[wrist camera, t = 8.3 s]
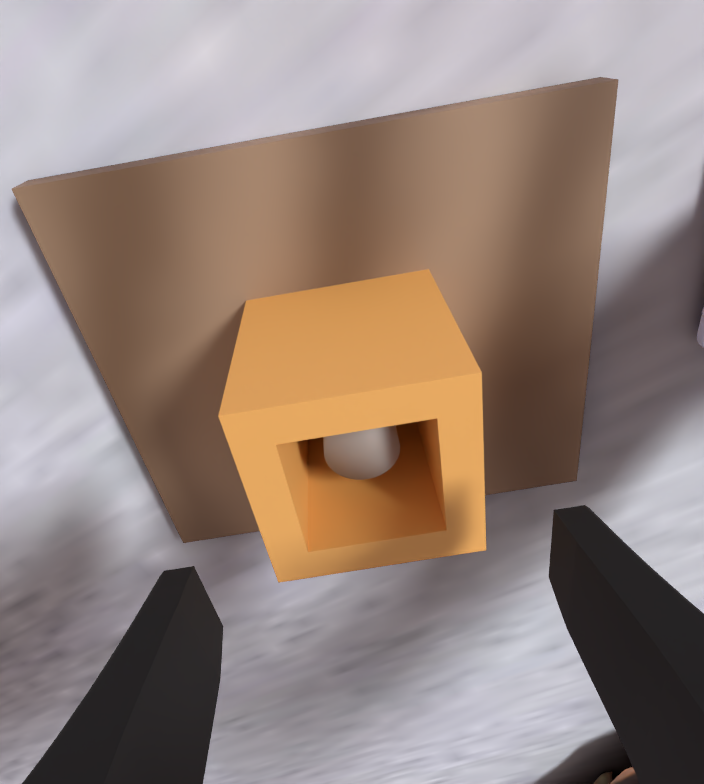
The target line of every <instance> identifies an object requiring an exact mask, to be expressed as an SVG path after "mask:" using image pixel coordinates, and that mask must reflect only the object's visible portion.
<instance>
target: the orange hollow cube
mask: <svg viewBox="0 0 704 784" xmlns="http://www.w3.org/2000/svg"><path fill="white" fill-rule="evenodd" d="M218 417H219V420H220V422H221V425H222V428H223V431H224V433H225V436H226V439H227V442H228V444H229V447H230V450H231V453H232V455H233V458H234V461H235V464H236V466H237V469H238V472H239V475H240V477H241V480H242V483H243V486H244V488H245V491H246V494H247V497H248V500H249V502H250V505H251V508H252V511H253V513H254V516H255V519H256V522H257V524H258V527H259V530H260V533H261V535H262V538H263V541H264V544H265V546H266V549H267V552H268V555H269V557H270V560H271V563H272V566H273V568H274V571H275V574H276V577H277V579H278V582H285V581H292V580H298V579H304V578H311V577H317V576H324V575H330V574H336V573H343V572H349V571H356V570H362V569H369V568H375V567H381V566H388V565H394V564H401V563H407V562H413V561H420V560H426V559H433V558H439V557H445V556H452V555H458V554H465V553H471V552H478V551H484V550H486V521H485V481H484V441H483V401H482V372H481V370H480V368H479V366H478V364H477V362H476V360H475V358H474V356H473V354H472V352H471V350H470V348H469V346H468V345H467V343H466V341H465V339H464V337H463V335H462V333H461V331H460V329H459V327H458V325H457V323H456V321H455V319H454V317H453V315H452V313H451V311H450V310H449V308H448V306H447V304H446V302H445V300H444V298H443V296H442V294H441V292H440V290H439V288H438V286H437V284H436V282H435V280H434V278H433V276H432V274H431V273H430V271H429V269H427V270H421V271H415V272H409V273H403V274H398V275H392V276H386V277H380V278H374V279H369V280H363V281H357V282H351V283H345V284H340V285H334V286H328V287H322V288H316V289H310V290H305V291H299V292H293V293H287V294H281V295H276V296H270V297H264V298H258V299H252V300H247V301H246V303H245V307H244V311H243V315H242V319H241V324H240V328H239V332H238V336H237V340H236V344H235V349H234V353H233V357H232V361H231V365H230V369H229V373H228V378H227V382H226V386H225V390H224V394H223V398H222V403H221V407H220V411H219V415H218ZM394 425H396V429H397V434H398V438H399V443H400V454H399V457H398V459H397V461H396V462H395V464H394V465H393V466H392V467H391V468H390V469H389V470H388V471H386V472H385V473H383V474H382V475H379V476H377V477H374V478H370V479H364V480H355V479H349V478H345V477H343V476H340V475H339V474H337V473H335V472H334V471H333V470H332V469H331V468H330V467H329V466H328V464H327V462H326V460H325V457H324V442H323V437H326V436H333V435H339V434H345V433H351V432H357V431H363V430H369V429H375V428H381V427H388V426H394Z"/></svg>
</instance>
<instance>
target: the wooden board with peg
mask: <svg viewBox="0 0 704 784" xmlns="http://www.w3.org/2000/svg"><path fill="white" fill-rule="evenodd" d="M617 87H618V79H610V78H603V77H599V78H593V79H588V80H582V81H577V82H571V83H566V84H560V85H555V86H549V87H543V88H538V89H532V90H527V91H521V92H516V93H510V94H505V95H499V96H494V97H488V98H482V99H477V100H471V101H466V102H460V103H455V104H449V105H444V106H438V107H433V108H427V109H421V110H416V111H410V112H405V113H399V114H394V115H388V116H383V117H377V118H372V119H366V120H360V121H355V122H349V123H344V124H338V125H333V126H327V127H322V128H316V129H311V130H305V131H300V132H294V133H288V134H283V135H277V136H272V137H266V138H261V139H255V140H250V141H244V142H239V143H233V144H227V145H222V146H216V147H211V148H205V149H200V150H194V151H189V152H183V153H178V154H172V155H166V156H161V157H155V158H150V159H144V160H139V161H133V162H128V163H122V164H117V165H111V166H105V167H100V168H94V169H89V170H83V171H78V172H72V173H67V174H61V175H56V176H50V177H44V178H39V179H33V180H28V181H26V182H24V183H22V184H20V185H18V186H16V187H14V188H12V191H13V193H14V195H15V197H16V199H17V201H18V203H19V205H20V207H21V209H22V212H23V214H24V216H25V218H26V220H27V222H28V224H29V226H30V228H31V230H32V232H33V234H34V236H35V238H36V240H37V242H38V245H39V247H40V249H41V251H42V253H43V255H44V257H45V259H46V261H47V263H48V265H49V267H50V269H51V271H52V273H53V275H54V278H55V280H56V282H57V284H58V286H59V288H60V290H61V292H62V294H63V296H64V298H65V300H66V302H67V304H68V306H69V308H70V311H71V313H72V315H73V317H74V319H75V321H76V323H77V325H78V327H79V329H80V331H81V333H82V335H83V337H84V339H85V341H86V343H87V346H88V348H89V350H90V352H91V354H92V356H93V358H94V360H95V362H96V364H97V366H98V368H99V370H100V372H101V374H102V376H103V379H104V381H105V383H106V385H107V387H108V389H109V391H110V393H111V395H112V397H113V399H114V401H115V403H116V405H117V407H118V409H119V412H120V414H121V416H122V418H123V420H124V422H125V424H126V426H127V428H128V430H129V432H130V434H131V436H132V438H133V440H134V442H135V445H136V447H137V449H138V451H139V453H140V455H141V457H142V459H143V461H144V463H145V465H146V467H147V469H148V471H149V473H150V475H151V478H152V480H153V482H154V484H155V486H156V488H157V490H158V492H159V494H160V496H161V498H162V500H163V502H164V504H165V506H166V508H167V510H168V513H169V515H170V517H171V519H172V521H173V523H174V525H175V527H176V529H177V531H178V533H179V535H180V537H181V539H182V541H183V543H187V542H193V541H199V540H206V539H212V538H218V537H224V536H231V535H237V534H243V533H250V532H256V531H260V530H259V527H258V524H257V522H256V519H255V516H254V513H253V511H252V508H251V505H250V502H249V500H248V497H247V494H246V491H245V488H244V486H243V483H242V480H241V477H240V475H239V472H238V469H237V466H236V464H235V461H234V458H233V455H232V453H231V450H230V447H229V444H228V442H227V439H226V436H225V433H224V431H223V428H222V425H221V422H220V420H219V417H218V415H219V411H220V407H221V403H222V398H223V394H224V390H225V386H226V382H227V378H228V373H229V369H230V365H231V361H232V357H233V353H234V349H235V344H236V340H237V336H238V332H239V328H240V324H241V319H242V315H243V311H244V307H245V303H246V301H247V300H252V299H258V298H264V297H270V296H276V295H281V294H287V293H293V292H299V291H305V290H310V289H316V288H322V287H328V286H334V285H340V284H345V283H351V282H357V281H363V280H369V279H374V278H380V277H386V276H392V275H398V274H403V273H409V272H415V271H421V270H427V269H429V271H430V273H431V274H432V276H433V278H434V280H435V282H436V284H437V286H438V288H439V290H440V292H441V294H442V296H443V298H444V300H445V302H446V304H447V306H448V308H449V310H450V311H451V313H452V315H453V317H454V319H455V321H456V323H457V325H458V327H459V329H460V331H461V333H462V335H463V337H464V339H465V341H466V343H467V345H468V346H469V348H470V350H471V352H472V354H473V356H474V358H475V360H476V362H477V364H478V366H479V368H480V370H481V372H482V401H483V441H484V481H485V495H489V494H496V493H502V492H508V491H515V490H521V489H527V488H534V487H540V486H546V485H553V484H559V483H565V482H571V481H577V472H578V463H579V453H580V443H581V434H582V424H583V414H584V405H585V395H586V386H587V376H588V366H589V357H590V347H591V338H592V328H593V318H594V309H595V299H596V289H597V280H598V270H599V261H600V251H601V241H602V232H603V222H604V212H605V203H606V193H607V184H608V174H609V164H610V155H611V145H612V135H613V126H614V116H615V107H616V97H617ZM323 442H324V457H325V460H326V462H327V464H328V466H329V467H330V468H331V469H332V470H333V471H334V472H335V473H337V474H339V475H340V476H343V477H345V478H349V479H355V480H364V479H370V478H374V477H377V476H379V475H382V474H383V473H385V472H386V471H388V470H389V469H390V468H391V467H392V466H393V465H394V464H395V462H396V461H397V459H398V457H399V454H400V443H399V438H398V434H397V429H396V425H394V426H388V427H381V428H375V429H369V430H363V431H357V432H351V433H345V434H339V435H333V436H326V437H323Z"/></svg>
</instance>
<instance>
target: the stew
mask: <svg viewBox="0 0 704 784" xmlns="http://www.w3.org/2000/svg"><path fill="white" fill-rule="evenodd" d="M593 784H640V783H639V781H638V778H637V776H636V773H635V771H634V769H633V767H631V768H628V769H625V770H624V771H623V772H622V773H621V774H619V775H618V776H617V777H616V778H615V779H614V780H613V779H612V772H605V773H603V774H601V775H600V776H599V777H598V778H597V780H596V781H595V782H594V783H593Z"/></svg>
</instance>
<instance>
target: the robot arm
mask: <svg viewBox="0 0 704 784" xmlns="http://www.w3.org/2000/svg"><path fill="white" fill-rule="evenodd" d="M697 342H698V343H699V345H701V346H702V347H703V348H704V307H703V311H702V316H701V320H700V325H699V329H698V333H697ZM549 579H550V582H551V585H552V588H553V591H554V593H555V596H556V599H557V602H558V605H559V608H560V611H561V613H562V616H563V619H564V622H565V624H566V627H567V629H568V631H569V634H570V636H571V638H572V640H573V642H574V644H575V646H576V648H577V651H578V653H579V655H580V657H581V659H582V661H583V663H584V665H585V667H586V669H587V671H588V674H589V676H590V678H591V680H592V682H593V684H594V686H595V688H596V690H597V692H598V694H599V696H600V698H601V700H602V702H603V705H604V707H605V709H606V711H607V713H608V715H609V717H610V719H611V721H612V723H613V725H614V727H615V729H616V731H617V734H618V736H619V738H620V740H621V742H622V744H623V746H624V748H625V751H626V753H627V755H628V757H629V760H630V762H631V764H632V766H633V769H634V771H635V773H636V776H637V778H638V781H639V783H640V784H704V613H702V612H701V611H700V610H699V609H698V608H696V607H695V606H694V605H693V604H692V603H691V602H689V601H688V600H687V599H686V598H685V597H684V596H683V595H681V594H680V593H679V592H678V591H677V590H676V589H675V588H673V587H672V586H671V585H670V584H669V583H668V582H667V581H666V580H664V579H663V578H662V577H661V576H660V575H659V574H658V573H657V572H655V571H654V570H653V569H652V568H651V567H650V566H649V565H648V564H647V563H646V562H645V561H643V560H642V559H641V558H640V557H639V556H638V555H637V554H636V553H635V552H634V551H633V550H632V549H631V548H630V547H629V546H628V545H627V544H625V543H624V542H623V541H622V540H621V539H620V538H619V537H618V536H617V535H616V534H615V533H614V532H613V531H612V530H611V529H610V528H609V527H608V526H607V525H606V524H605V523H604V522H603V521H602V520H601V519H600V518H599V517H598V516H597V515H596V514H595V513H594V512H593V511H592V510H591V509H590V508H588V507H587V506H585V505H584V506H577V507H571V508H564V509H558V510H554V514H553V527H552V540H551V554H550V567H549ZM222 639H223V625H222V623H221V621H220V619H219V617H218V615H217V613H216V611H215V609H214V607H213V605H212V603H211V601H210V598H209V596H208V594H207V592H206V590H205V588H204V586H203V584H202V582H201V580H200V578H199V576H198V574H197V572H196V570H195V568H194V566H192V567H186V568H179V569H173V570H167V571H164V572H163V573H162V574H161V576H160V577H159V579H158V581H157V582H156V584H155V586H154V587H153V589H152V591H151V592H150V594H149V596H148V597H147V599H146V601H145V602H144V604H143V606H142V607H141V609H140V611H139V612H138V614H137V616H136V617H135V619H134V621H133V622H132V624H131V625H130V627H129V629H128V630H127V632H126V634H125V635H124V637H123V639H122V640H121V642H120V643H119V645H118V647H117V648H116V650H115V651H114V653H113V654H112V656H111V657H110V659H109V661H108V662H107V664H106V665H105V667H104V668H103V670H102V672H101V673H100V675H99V676H98V678H97V679H96V681H95V682H94V684H93V685H92V687H91V689H90V690H89V692H88V693H87V694H86V696H85V697H84V699H83V700H82V702H81V703H80V705H79V706H78V707H77V709H76V710H75V712H74V713H73V715H72V716H71V718H70V719H69V720H68V722H67V723H66V725H65V726H64V728H63V729H62V731H61V732H60V733H59V735H58V736H57V738H56V739H55V740H54V742H53V743H52V745H51V746H50V747H49V749H48V750H47V751H46V753H45V754H44V755H43V757H42V758H41V760H40V761H39V762H38V764H37V765H36V766H35V767H34V769H33V770H32V771H31V773H30V774H29V775H28V777H27V778H26V779H25V781H24V782H23V783H22V784H203V779H204V773H205V767H206V761H207V755H208V750H209V744H210V738H211V732H212V726H213V720H214V714H215V708H216V702H217V696H218V690H219V684H220V674H221V659H222Z"/></svg>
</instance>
